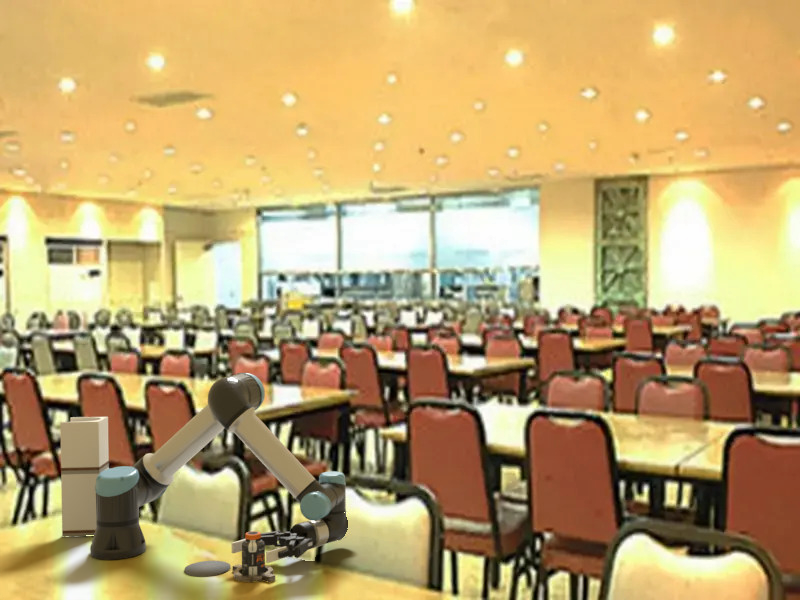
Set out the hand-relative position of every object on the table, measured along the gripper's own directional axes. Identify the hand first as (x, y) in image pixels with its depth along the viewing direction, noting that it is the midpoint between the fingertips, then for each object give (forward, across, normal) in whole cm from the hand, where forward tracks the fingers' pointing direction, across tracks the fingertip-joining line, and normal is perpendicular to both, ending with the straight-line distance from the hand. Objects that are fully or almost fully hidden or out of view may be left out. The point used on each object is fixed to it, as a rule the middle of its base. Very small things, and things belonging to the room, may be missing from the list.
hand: (249, 552), depth 235 cm
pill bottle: (-1, 0, +7) cm, 7 cm away
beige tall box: (+2, -74, +7) cm, 74 cm away
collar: (-1, 0, +6) cm, 7 cm away
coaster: (+3, -14, +6) cm, 16 cm away
